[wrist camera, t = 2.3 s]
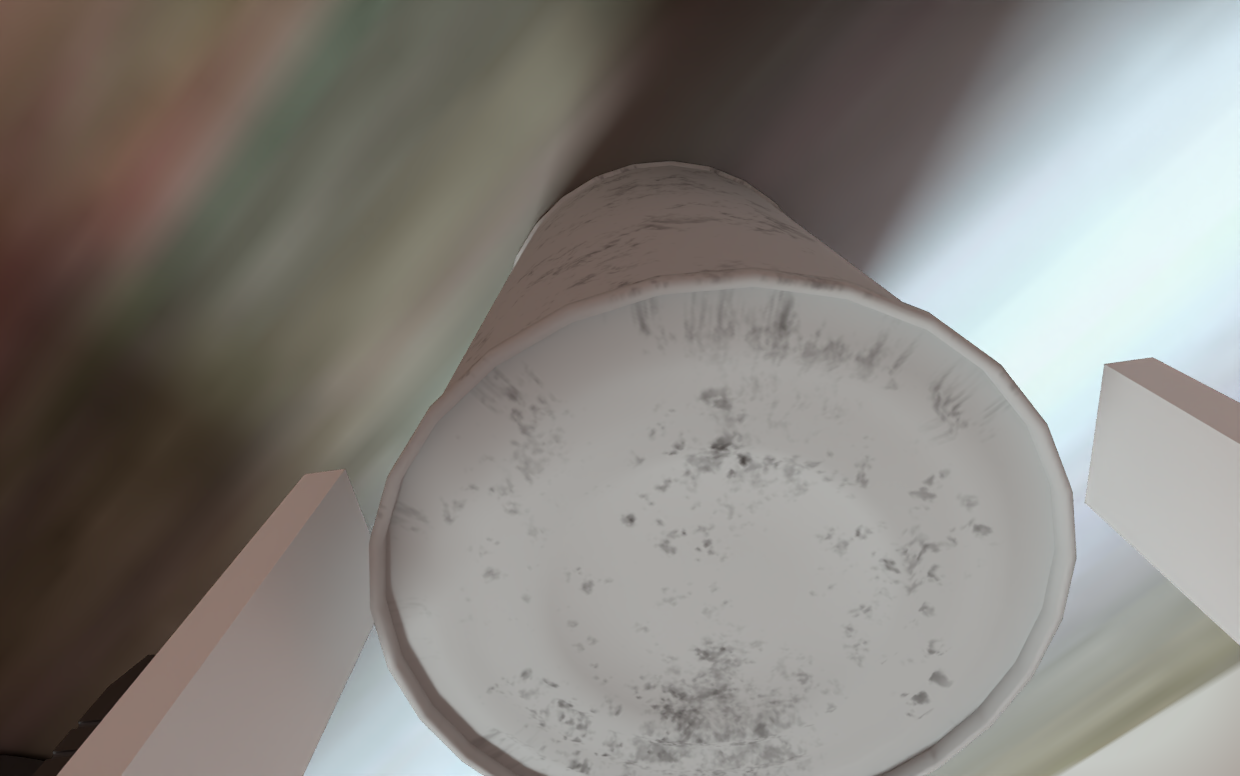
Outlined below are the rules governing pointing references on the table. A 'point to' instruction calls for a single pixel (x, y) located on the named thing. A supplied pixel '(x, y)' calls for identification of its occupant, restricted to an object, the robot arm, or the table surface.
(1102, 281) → the table surface
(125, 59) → the table surface
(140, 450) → the table surface
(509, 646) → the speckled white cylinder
